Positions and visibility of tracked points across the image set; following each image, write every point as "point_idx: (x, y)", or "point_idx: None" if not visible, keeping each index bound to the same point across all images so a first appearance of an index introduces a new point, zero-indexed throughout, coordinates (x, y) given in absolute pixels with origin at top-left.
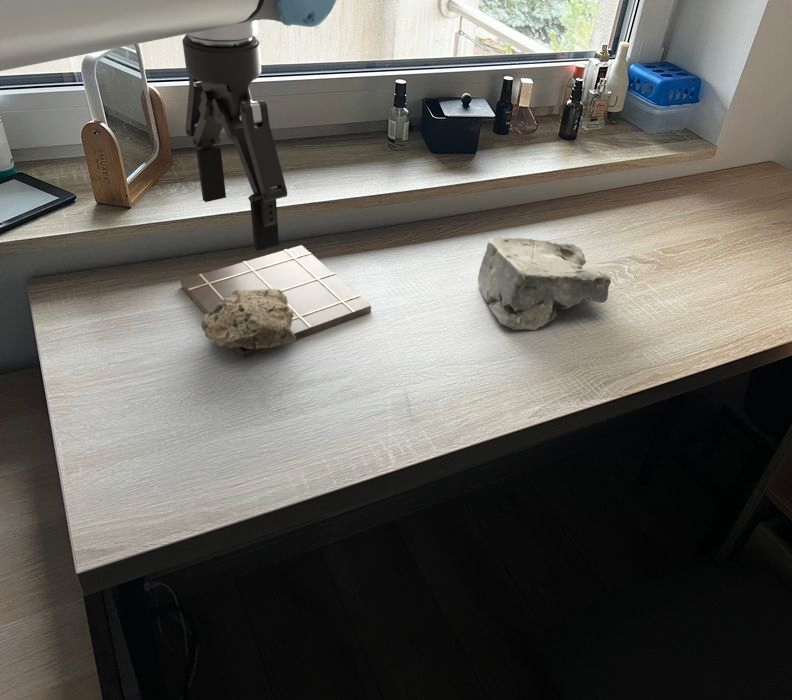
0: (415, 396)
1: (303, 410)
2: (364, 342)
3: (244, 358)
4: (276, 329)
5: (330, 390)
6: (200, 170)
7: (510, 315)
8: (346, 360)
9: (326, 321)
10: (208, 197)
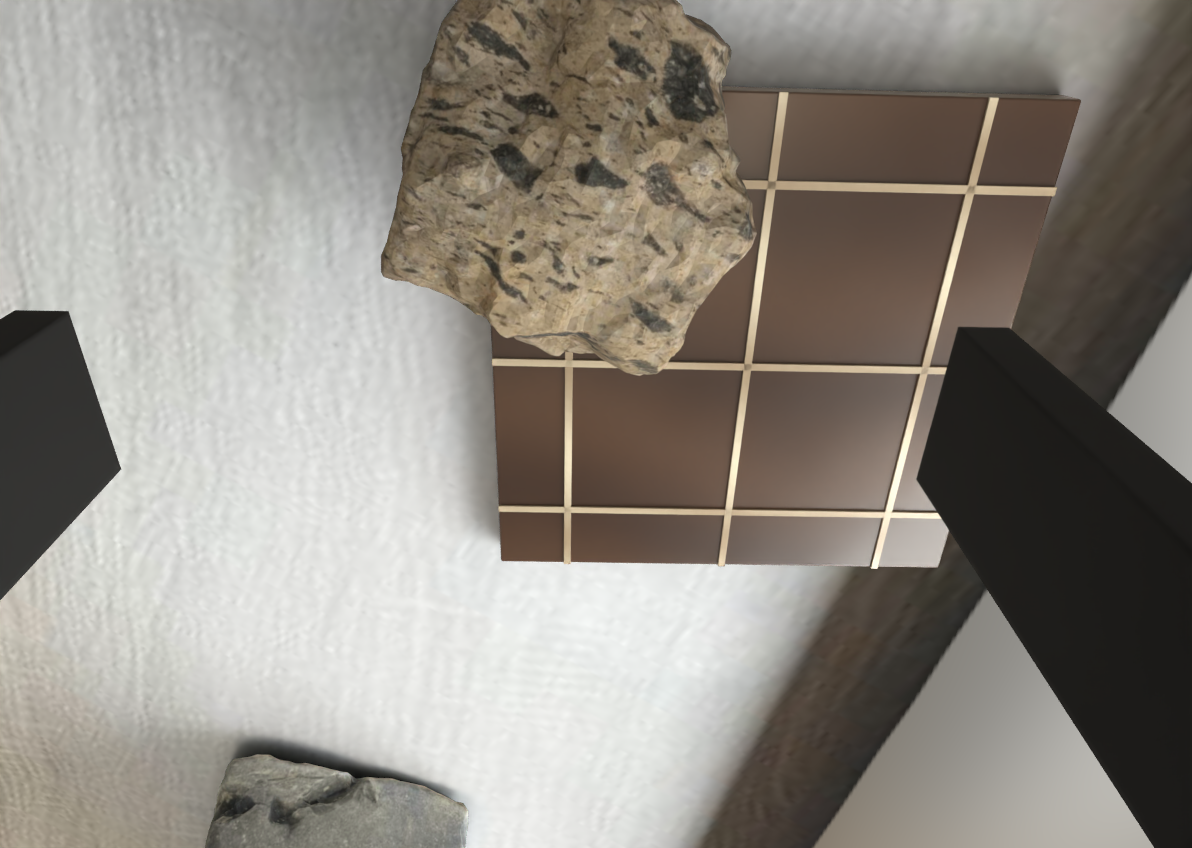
0: None
1: (120, 118)
2: (376, 456)
3: None
4: (393, 228)
5: (190, 249)
6: (1149, 486)
7: (229, 792)
8: (315, 369)
9: (496, 418)
10: (967, 371)
